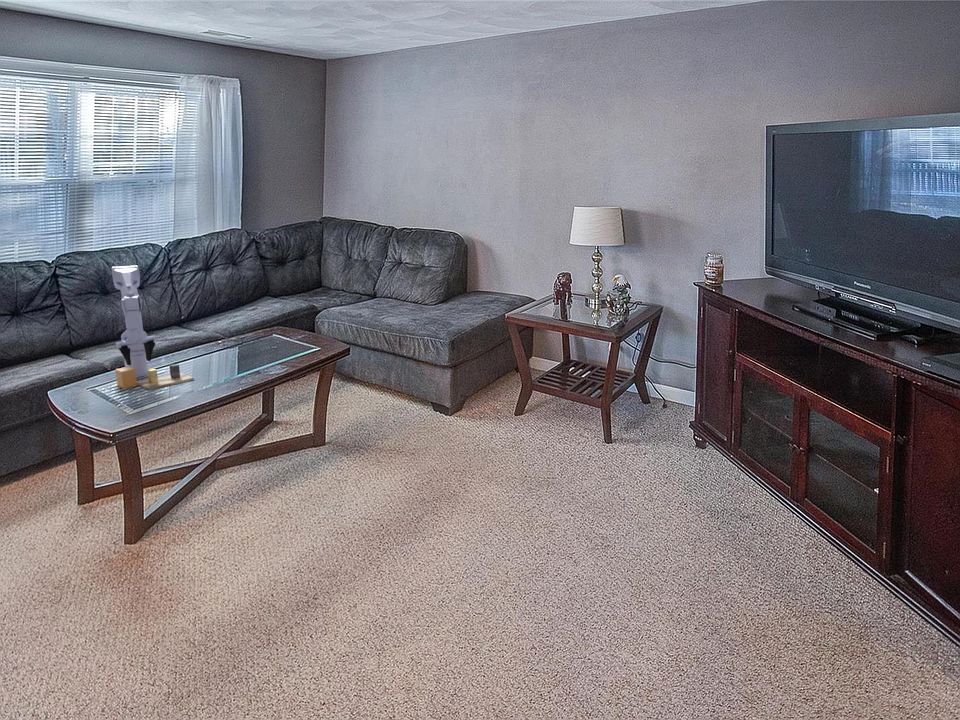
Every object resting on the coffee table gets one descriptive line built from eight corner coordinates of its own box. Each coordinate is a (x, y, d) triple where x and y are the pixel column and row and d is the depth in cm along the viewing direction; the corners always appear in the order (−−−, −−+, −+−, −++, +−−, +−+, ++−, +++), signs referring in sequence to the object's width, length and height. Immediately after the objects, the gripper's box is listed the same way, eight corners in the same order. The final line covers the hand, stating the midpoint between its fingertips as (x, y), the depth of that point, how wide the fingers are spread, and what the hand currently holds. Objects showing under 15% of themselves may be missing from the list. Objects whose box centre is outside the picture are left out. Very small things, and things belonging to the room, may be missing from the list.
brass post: (148, 382, 286) (146, 370, 285) (155, 380, 288) (153, 368, 287) (151, 383, 285) (150, 371, 283) (158, 382, 287) (156, 369, 285)
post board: (135, 383, 287) (133, 369, 286) (179, 373, 300) (177, 360, 299) (149, 390, 280) (147, 375, 278) (194, 379, 293) (192, 365, 291)
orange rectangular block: (117, 385, 285) (115, 369, 283) (131, 382, 289) (128, 366, 287) (123, 388, 282) (121, 371, 280) (137, 385, 285) (134, 368, 284)
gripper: (120, 333, 270) (124, 368, 274) (158, 326, 281) (162, 360, 285) (111, 330, 275) (116, 365, 278) (149, 323, 285) (153, 357, 289)
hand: (138, 362), depth 282 cm, fingers open, 7 cm apart
